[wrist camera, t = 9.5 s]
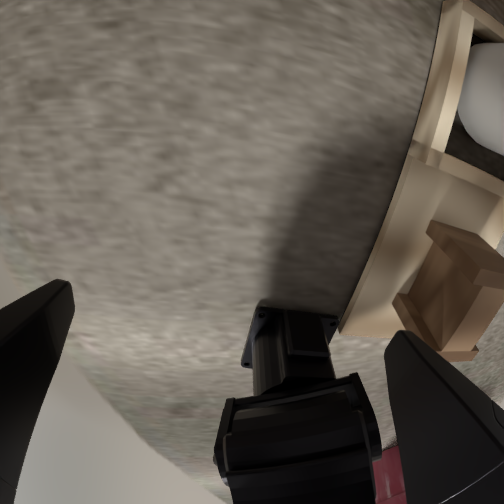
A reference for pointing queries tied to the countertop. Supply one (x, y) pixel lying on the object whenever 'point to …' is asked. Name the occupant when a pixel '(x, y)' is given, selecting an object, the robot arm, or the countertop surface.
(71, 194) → the countertop surface
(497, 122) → the can
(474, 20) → the wooden divided tray
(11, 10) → the countertop surface
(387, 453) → the plant pot
